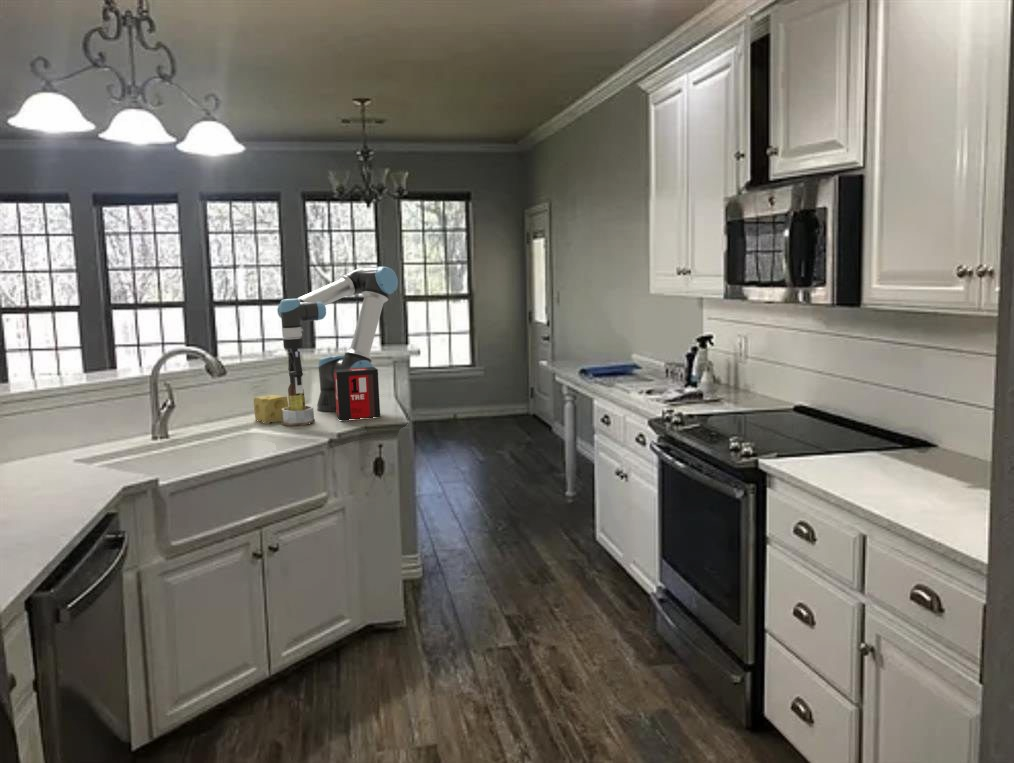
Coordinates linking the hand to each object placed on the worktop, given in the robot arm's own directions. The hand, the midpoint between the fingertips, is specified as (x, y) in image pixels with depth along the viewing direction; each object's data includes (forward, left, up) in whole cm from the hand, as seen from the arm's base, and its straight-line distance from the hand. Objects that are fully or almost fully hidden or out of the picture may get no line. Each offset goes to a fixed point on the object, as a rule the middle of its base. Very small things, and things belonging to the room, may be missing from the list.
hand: (296, 390), depth 344 cm
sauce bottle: (0, 0, -12) cm, 12 cm away
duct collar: (0, 0, -13) cm, 13 cm away
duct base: (0, 0, -13) cm, 13 cm away
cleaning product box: (-24, +2, -13) cm, 27 cm away
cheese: (+9, -12, -13) cm, 20 cm away
